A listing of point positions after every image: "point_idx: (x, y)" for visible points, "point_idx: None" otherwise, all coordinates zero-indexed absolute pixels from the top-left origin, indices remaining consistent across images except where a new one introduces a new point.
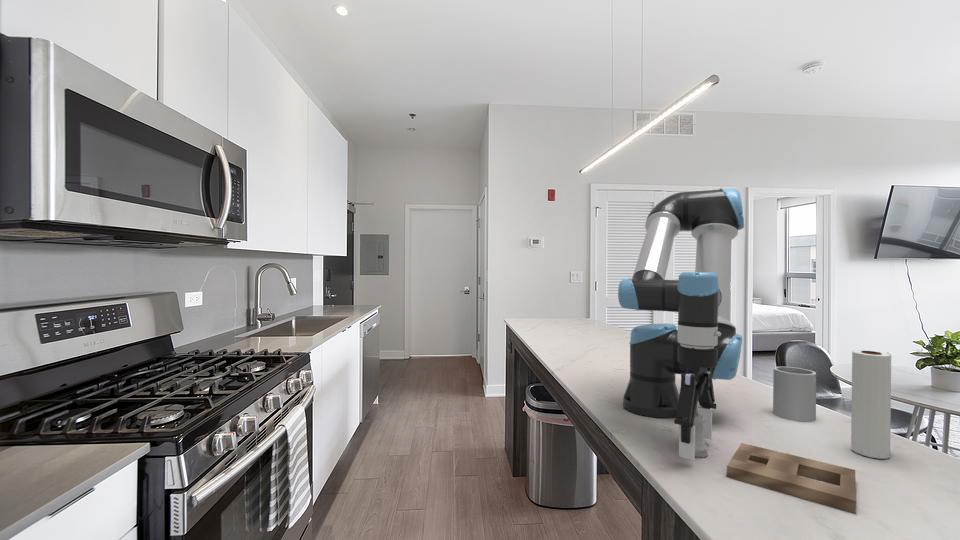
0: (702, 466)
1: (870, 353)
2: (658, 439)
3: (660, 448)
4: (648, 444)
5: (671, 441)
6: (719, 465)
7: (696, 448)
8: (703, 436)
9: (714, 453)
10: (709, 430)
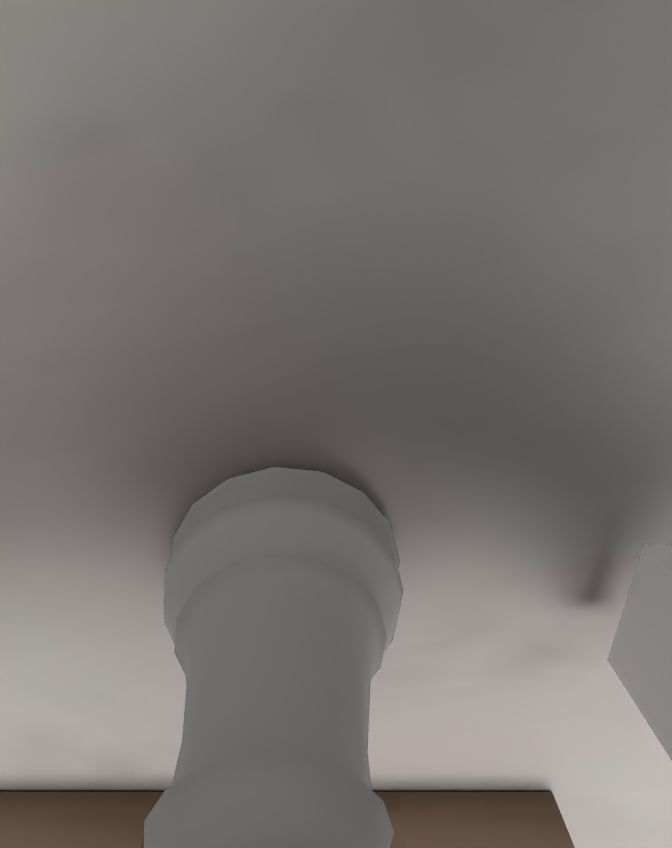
0: (23, 646)
1: None
2: (460, 87)
3: (147, 207)
4: (164, 6)
5: (485, 265)
6: (159, 728)
7: (173, 637)
8: (636, 611)
9: (402, 663)
10: (669, 737)
